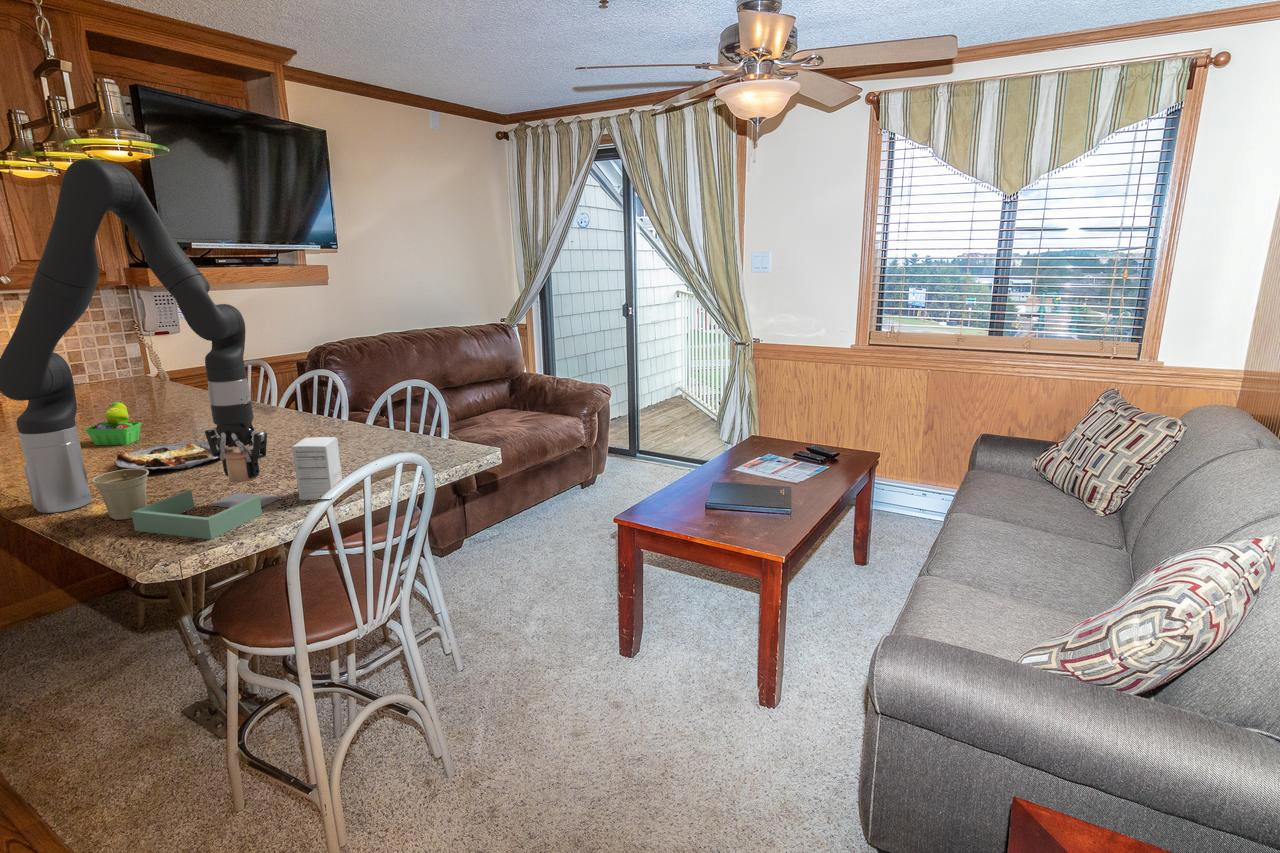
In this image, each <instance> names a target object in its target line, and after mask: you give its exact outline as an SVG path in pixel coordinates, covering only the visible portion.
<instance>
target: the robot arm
mask: <svg viewBox="0 0 1280 853" xmlns="http://www.w3.org/2000/svg"><path fill="white" fill-rule="evenodd" d="M61 180H62V181H61V185H60V190H59V195H58V198H57V199H58V201H57V205H56V210H55V213H54V214H55V215H54V218H53V222H52V226H51V229H50V231H49V233H48V236H47V240H46V243H45V246H44V250H43V252H42V256H41V257H40V260H39V263H38V264H37V267H36V270H35V274H34V276H33V279H32V281H31V284H30V288H29V291H28V295H27V297H26V300H25V303H24V305H23V308H22V310H21V313H20V315H19V318H18V320H17V325H16V327H15V329H14V331H13V333H12V335H11V337H10V339H9V340H8V343H7V344H6V347H5V349H4V350H3V352H2V354H1V355H0V393H1V394H2V395H3V396H5V397H6V398H8V399H10V400H13V401H21V402H22V401H28V403H27V406H26V408H25V409H24V411H23V412H22V413H21V414H20V415H19V416H18V417H17V419H16V422H15V423H16V427H17V431H18V432H17V433H18V436H19V440H20V441H19V442H20V445H21V448H22V452H23V456H24V457H23V458H24V460H25V465H24V467H23V469H24V473H25V478H26V482H27V486H28V491H29V496H30V499H31V504H32V508H33V509H35V510H36V512H39V513H43V514H45V513H46V514H49V513H51V514H53V513H60V512H67V511H71V510H72V511H73V510H75V509H78V508H82V507H85V506H87V505H88V504H90V503H91V502H92V501H93V500H92V494H91V489H90V486H89V479H88V476H87V470H86V466H85V460H84V456H83V452H82V451H83V450H82V448H81V442H80V437H79V434H78V433H79V432H78V429H77V423H76V416H77V411H78V403H77V402H78V401H77V397H76V390H75V384H74V383H75V382H74V377H73V376H74V375H73V373H72V370H71V368H70V366H69V363H68V362H67V361H66V360H65V359H64V357H62V355H60V354H58V353H56V352H54V351H55V349H56V346H57V345H58V343H59V342H60V340H61V339H62V338H63V337H64V335H65V334H66V333H67V332H68V331H69V330H70V329H71V328H72V327H73V325H75V324H76V323H77V321H78V320H79V319H80V318H81V317H82V316H83V314H84V313H85V312H86V311H87V309H88V307H89V305H90V304H91V301H92V298H93V295H94V293H95V291H96V287H97V285H98V281H99V277H100V270H99V268H100V267H99V262H98V258H97V257H98V256H97V251H96V250H97V249H96V240H97V238H96V237H97V234H98V232H99V228H100V226H101V224H102V221H103V219H104V216H105V215H106V213H107V212H112V213H114V215H115V216H116V217H118V218H119V220H121V221H122V222H123V223H124V224H125V225H126V226H127V227H128V228H129V229H130V231H131V232H132V234H134V236H135V238H136V239H137V242H138V243H139V245H140V248H141V250H142V252H143V255H144V258H145V261H146V263H147V265H148V267H149V269H150V271H152V273H153V275H154V276H155V277H156V278H157V280H158V281H159V282H160V283H161V285H162V286H163V287H164V288H165V289H166V291H167V292H168V293H169V294H170V295H171V296H172V297H173V298H174V299H175V300H174V301H175V302H176V304H177V306H178V308H179V310H180V312H181V315H182V316H183V318H184V320H185V321H186V323H187V325H188V326H189V329H190V330H192V331H193V332H194V333H195V334H196V335H197V336H198V337H199V338H202V339H203V340H206V341H209V342H211V350H210V351H209V352H208V353H206V355H205V357H204V365H205V366H204V367H205V372H206V379H207V386H208V387H207V391H208V398H209V399H208V400H209V404H210V410H211V417H212V422H213V424H215V425H216V427H213V428H210V429H207V430H205V431H204V435H205V437H206V440H207V441H206V442H208V443H209V446H210V449H211V452H212V455H213V456H214V457H218V458H219V459H220V460H221V461H222V467H223V472H224V474H225V476H226V477H228V471H227V465H226V459H225V458H224V456H223V454H224V453H227V452H228V451H234V450H236V448H237V449H239V451H240V452H241V453H243V454H244V455H245V458H246V460H247V462H246V465H247V472H248V477H249V478H255V477H256V478H258V476H259V475H260V466H259V465H260V464H259V460H260V459H262V458H265V457H266V456H267V443H268V432H267V431H264V430H262V431H258V430H255V427H254V426H253V420H254V418H255V417H254V416H255V415H254V409H253V404H252V402H253V401H252V397H251V396H252V395H251V390H250V385H249V383H248V379H247V372H246V366H245V361H244V353H245V346H246V323H245V322H246V321H245V320H244V317H243V315H242V313H241V311H240V310H239V309H238V308H237V307H235V306H233V305H231V304H229V303H220V304H216V303H214V301H213V300H212V298H211V297H210V295H209V292H210V289H211V285H210V283H209V281H208V280H207V279H206V277H205V275H203V273H202V272H201V271H200V270H199V269H198V267H197V266H196V265H195V264H194V262H193V261H192V260H191V259H190V257H189V256H188V255H187V254H186V253H185V252H184V249H183V248H181V247H180V245H179V243H177V241H176V239H175V238H174V237H173V235H172V234H171V232H170V231H169V229H168V228H167V226H166V225H165V223H164V221H163V220H162V219H161V217H160V215H159V214H158V212H157V210H156V209H155V208H154V207H155V206H153V204H152V203H151V201H150V199H149V197H148V196H147V194H146V193H145V190H144V188H143V187H142V186H141V184H140V183H139V181H138V180H137V178H136V177H135V175H134V174H133V173H132V172H131V171H130V170H129V169H127V168H125V167H124V166H123V165H120V164H116V163H114V162H109V161H103V160H97V159H92V158H81V159H78V160H75V161H73V162H72V163H71V164H70V165H68V166H67V168H66V170H65V172H64V174H63V177H62V179H61ZM216 445H217V446H218V448H219V450H217V447H216ZM246 446H248V447H246ZM249 451H250V452H253V455H250V453H249ZM212 455H211V456H212ZM256 478H255V479H256Z"/></svg>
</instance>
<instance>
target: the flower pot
mask: <svg viewBox="0 0 1280 853" xmlns="http://www.w3.org/2000/svg"><path fill="white" fill-rule="evenodd" d="M149 473H150V470H149V471H148V469H125V468H124V469H119V470H114V471H109V472H106V473H102V474H99V475H97V476H95V477H93V478H92V479H91V482H92V484H93V485H95V487H96V489H97V490H98V491H99V493H100V495H101V498H102V500H103V503H104V505H105V507H106V510H107V512H108V514H109V517H110V519H113V520H115V521H117V520H118V521H119V520H129V519H132V514H131V512H132V511H134V510H137V509H140V508H142V507H145V506H147V503H148V502H147V481H148V475H149Z"/></svg>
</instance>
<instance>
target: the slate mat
mask: <svg viewBox="0 0 1280 853" xmlns="http://www.w3.org/2000/svg"><path fill="white" fill-rule="evenodd" d="M255 496H258V497H260V502H261V507H262V508H264V507H266V506H268V505H267V504H269V503H271V504H272V502H273V503H274V501H275V502H276V500H277V501H279V500H281V499H283V497H282V496H277V495H266V494H253V493H245V492H243V493H242V492H235V493H233V494H231V495H230V494H229V495H227V496H225V497H223V498H221V499H219V500H217V501H214V502H211V503H209V504H208V505H209V506H208V507H213V506H219V507H218V508H223V507H228V508H231V507H233V506H235V505H237V504H240V503H242V502H244V501H246V500H248V499H251V498H253V497H255ZM280 498H281V499H280ZM278 499H279V500H278ZM265 505H266V506H265ZM269 505H270V504H269ZM263 506H264V507H263ZM228 508H227V509H228Z"/></svg>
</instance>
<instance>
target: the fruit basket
mask: <svg viewBox="0 0 1280 853" xmlns="http://www.w3.org/2000/svg"><path fill="white" fill-rule="evenodd" d="M104 417H105V418H106V421H102V422H98V423H97V424H95V425H91V426H88V427H87V428H85V429H84V430H85V432H86V433H87V434H88V435H89V437H90V439H91V441H92V442H93V444H94V445H95V446H127V445H129V444H132V443H135V442H137V441H139V439H140V433H141V432H140V431H141V426H142V422H141V421H140V422H139V421H138V422H135V421H133V422H132V421H130V422H129V417H130V416H129V412H128V408H127V406H126V405H125V404H124V402H122V401H121V402H120V401H114V402H112V404H111V406H110V407H109V408H108V409H107V410H106V411H105V413H104Z"/></svg>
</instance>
